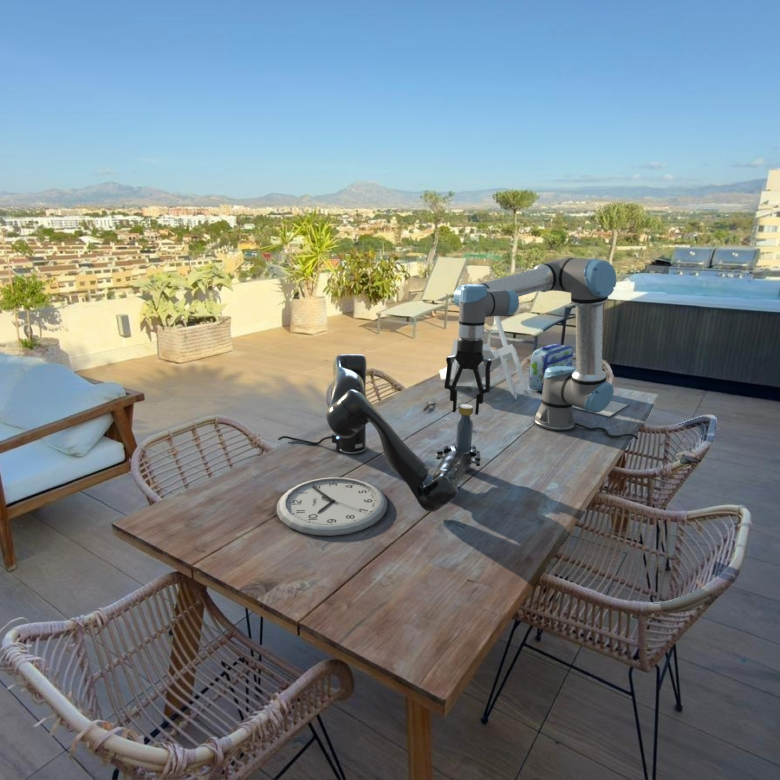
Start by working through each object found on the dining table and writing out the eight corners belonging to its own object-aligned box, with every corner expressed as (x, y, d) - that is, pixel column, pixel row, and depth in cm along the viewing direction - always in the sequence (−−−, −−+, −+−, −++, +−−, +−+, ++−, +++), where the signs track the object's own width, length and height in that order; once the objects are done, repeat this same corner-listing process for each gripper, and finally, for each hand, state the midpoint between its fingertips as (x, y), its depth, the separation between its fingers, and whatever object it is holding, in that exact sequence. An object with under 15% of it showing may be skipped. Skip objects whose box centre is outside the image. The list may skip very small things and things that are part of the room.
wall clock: (392, 527, 129) (268, 531, 127) (391, 533, 130) (269, 537, 127) (383, 473, 158) (282, 475, 155) (383, 478, 158) (282, 480, 156)
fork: (420, 411, 216) (420, 406, 216) (430, 400, 230) (431, 395, 230) (426, 412, 215) (426, 407, 215) (436, 401, 230) (436, 396, 229)
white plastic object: (461, 429, 252) (437, 405, 227) (444, 352, 274) (420, 323, 250) (535, 404, 240) (518, 377, 215) (510, 326, 262) (492, 293, 237)
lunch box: (545, 396, 239) (550, 351, 232) (524, 391, 246) (528, 347, 240) (572, 385, 256) (577, 343, 250) (552, 380, 263) (557, 339, 257)
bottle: (471, 470, 165) (476, 409, 158) (457, 472, 164) (461, 410, 157) (466, 464, 169) (470, 404, 163) (452, 465, 168) (456, 405, 162)
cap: (474, 415, 159) (474, 408, 159) (461, 415, 158) (462, 408, 158) (469, 410, 163) (470, 403, 162) (457, 411, 162) (457, 404, 162)
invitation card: (608, 416, 214) (573, 407, 224) (608, 416, 214) (573, 408, 224) (628, 404, 229) (594, 396, 238) (628, 405, 229) (594, 397, 238)
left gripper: (477, 460, 148) (488, 438, 163) (429, 452, 153) (443, 432, 168) (475, 484, 150) (486, 460, 166) (428, 475, 155) (442, 453, 170)
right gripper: (504, 338, 155) (498, 411, 162) (440, 333, 159) (436, 405, 166) (502, 343, 148) (496, 419, 155) (436, 338, 153) (432, 412, 159)
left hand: (465, 446), depth 167 cm, fingers closed on bottle, 4 cm apart
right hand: (465, 411), depth 161 cm, fingers open, 6 cm apart
